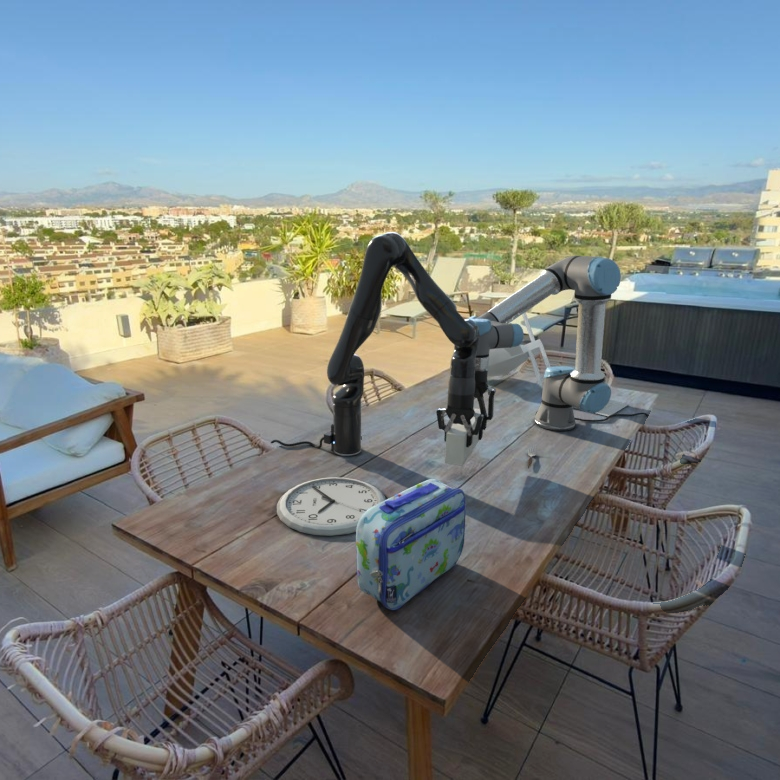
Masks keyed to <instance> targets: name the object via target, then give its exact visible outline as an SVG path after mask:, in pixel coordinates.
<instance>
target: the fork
mask: <svg viewBox="0 0 780 780" xmlns="http://www.w3.org/2000/svg"><path fill="white" fill-rule="evenodd" d="M533 448H535V449H533ZM533 448H531V447H529V448H528V451H527V456H529V459H528V460H527V469H530V467H531V465H532V463H533V460H532V459H533V457H535V456H537V445H536V447H535V445H534V446H533Z"/></svg>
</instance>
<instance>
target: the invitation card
mask: <svg viewBox="0 0 780 780" xmlns="http://www.w3.org/2000/svg"><path fill="white" fill-rule="evenodd" d="M628 406H629V404H627V403H623V402H618V401H614V400H609V402H608V403H607V405H606V406H605V407H604V408H603V409H602V410H601V411H599V412H597V413H595V414H596V415H600V416H604V417H608V416H610V415H613V414H617V412H619V411H621V410H623V409H624V408H626V407H628ZM573 409H575V410H579V409H578V408H575V407H573Z"/></svg>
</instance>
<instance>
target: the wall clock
mask: <svg viewBox="0 0 780 780" xmlns="http://www.w3.org/2000/svg"><path fill="white" fill-rule="evenodd" d="M385 500H387V498H386V496H385V494H384V493H383V492H382V491H381V490H380V489H379V488H377V487H376V486H374V485H372V484H371V483H369V482H365V481H362V480H359V479H355V478H349V477H338V476H337V477H335V476H333V477H332V476H331V477H322V478H317V479H312V480H307V481H305V482H302V483H299V484H297V485H295V486H293V487H292V488H290V489H288V490H287V491H286V492H285V493H284V494H283V495H281V496H280V498H279V499H278V502H277V503H276V515H277V517H278V518H279V520H280V521H281V522H282V523H283V524H285V525H286V526H287V527H288V528H290V529H293V530H295V531H297V532H299V533H303V534H308V535H312V536H327V537H328V536H329V537H331V536H332V537H333V536H342V535H350V534H352V533H356V529H357V525H358V522H359V520H360V518H361V516H362V515H363V513H364V512H365V511H366V510H368V509H369V508H371V507H373V506H375V505H377V504H379V503H381V502H383V501H385Z"/></svg>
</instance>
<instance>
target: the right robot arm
mask: <svg viewBox="0 0 780 780" xmlns="http://www.w3.org/2000/svg"><path fill="white" fill-rule="evenodd" d="M621 275H622V274H621V270H620V267H619V265H618V264H617V263H616V261H614V260H613V259H612V258H608V257H607V258H606V257H602V256H588V255H570V256H568V257H565V258H563V259H561V260H559V261H556V262H555V263H553V264H551V265H550V266H548V267H546V268H545V269H543V270H542V271H541V272H540V273H539V276H538V277H536V278H535V279H534V280H532V281H531V282H529V283H528V284H526V285H525V286H522V288H520V289H519V290H517V291H516V292H515V293H513V294H511V295H510V296H509V297H507V298H505V299H504V300H502V301H501V302H500V303H498V304H497V305H495V306H493V307H491V308H490V309H489V310H487V311H486V312H485V313H483V314H481V315H480V316H479V315H471V316H470V317H468V318H467V319H470V320H473V321H474V322H475V323H476V324H477V325H478V328H479V342H478V348H477V353H476V359H475V393H474V399H475V398H476V399H477V402H478V407H479V409H480V412H481V414H483V415H484V418H483V421H482V425H481V428H480V431H479V438H478V440H479V441H481V440H482V439H483V435H484V431H485V430H486V429H487V425H488V421H492V419H493V417H494V407H495V404H494V403H495V394H496V392H497V389H496V388H492V387H489V385H488V377H487V375H488V370H487V368H488V362H489V351H490V349H498V348H512V347H516V346H519V345H520V344H521V345H522V343H523V341H524V336H525V333H524V329H523V327H522V326H521V325H520V324H519V323H511V322H513V321H515V320H516V319H518V318H519V317H521V316H522V314H523V313H527V312H528V311H529V310H531V309H532V308H534V307H535V306H537V305H538V304H539V303H542V302H543V301H544V300H546V299H547V298H548V297H550V296H551V295H552V296H555V295H558V294H559V293H561V292H563V291H567V290H568V291H569V290H571V291H574V298H573V299H574V300H575V301H576V302H577V303H578V310H577V325H576V327H577V330H576V345H575V365H574V366H566V365H565V366H564V365H559V366H558V365H557V366H550V367H549V368H546V369H545V370H544V375H543V379H542V381H543V390H542V389H541V390H542V392H541V402H540V405H539V407H538V410H537V411H536V412H535V417H534V424H535V425H536V426H537V427H539V428H542V429H544V430H549V431H556V432H567V431H572V430H574V429H575V428H576V421H579V422H580V421H581V422H591V423H595V422H596V423H598V422H606V421H607V420H609V419H610V418H611V417H634V416H640V415H644V416H646V417H650V416H649V414H648V413H646V412H636V413H614V414H613V415H610V416H606V418H602V419H585V418H584V419H583V418H579V417H576V416H575V413H574V409H576V408H578V409H577V410H580V411H581V412H583V413H584V412H586V413H588V414H596V413H597V412H599V411H601V410H602V409H603V408H604V407H605V406H606V405H607V403H608V402H609V400H610V399H611V396H612V388H611V387H610V386H609V385H608V383H606V382H605V379H606V374H605V372H604V371H602V370H601V369H602V361H603V360H602V358H603V346H604V345H603V344H604V334H605V333H604V331H605V319H606V304H607V302H609V301H610V300H611V299H612V294H614V293H615V292H617V290H618V287H619V286H620V284H621V281H622V280H621V277H622V276H621ZM486 392H487V395H488V400H487V401H488V403H487V405H488V406H487V409H486V404H485V400H484V399H485V398H484V394H485V393H486ZM610 401H611V400H610ZM574 407H575V408H574Z"/></svg>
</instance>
